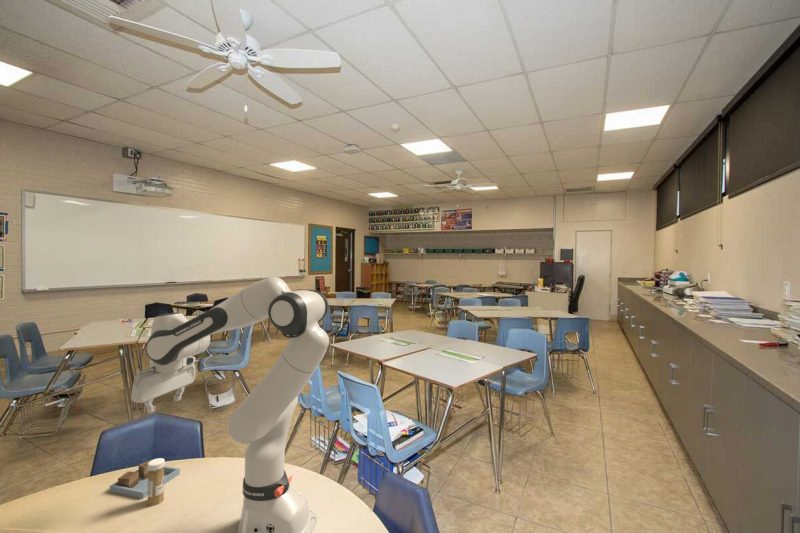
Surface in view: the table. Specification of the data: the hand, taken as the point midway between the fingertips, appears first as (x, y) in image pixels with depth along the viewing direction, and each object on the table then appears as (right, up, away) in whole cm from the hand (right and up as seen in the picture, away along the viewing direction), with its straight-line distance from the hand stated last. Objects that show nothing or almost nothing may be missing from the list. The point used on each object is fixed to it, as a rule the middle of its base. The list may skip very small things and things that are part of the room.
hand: (164, 406), depth 111 cm
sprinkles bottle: (-3, -32, 0) cm, 32 cm away
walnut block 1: (-17, -31, +7) cm, 36 cm away
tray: (-13, -31, +10) cm, 35 cm away
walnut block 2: (-16, -31, +14) cm, 37 cm away
